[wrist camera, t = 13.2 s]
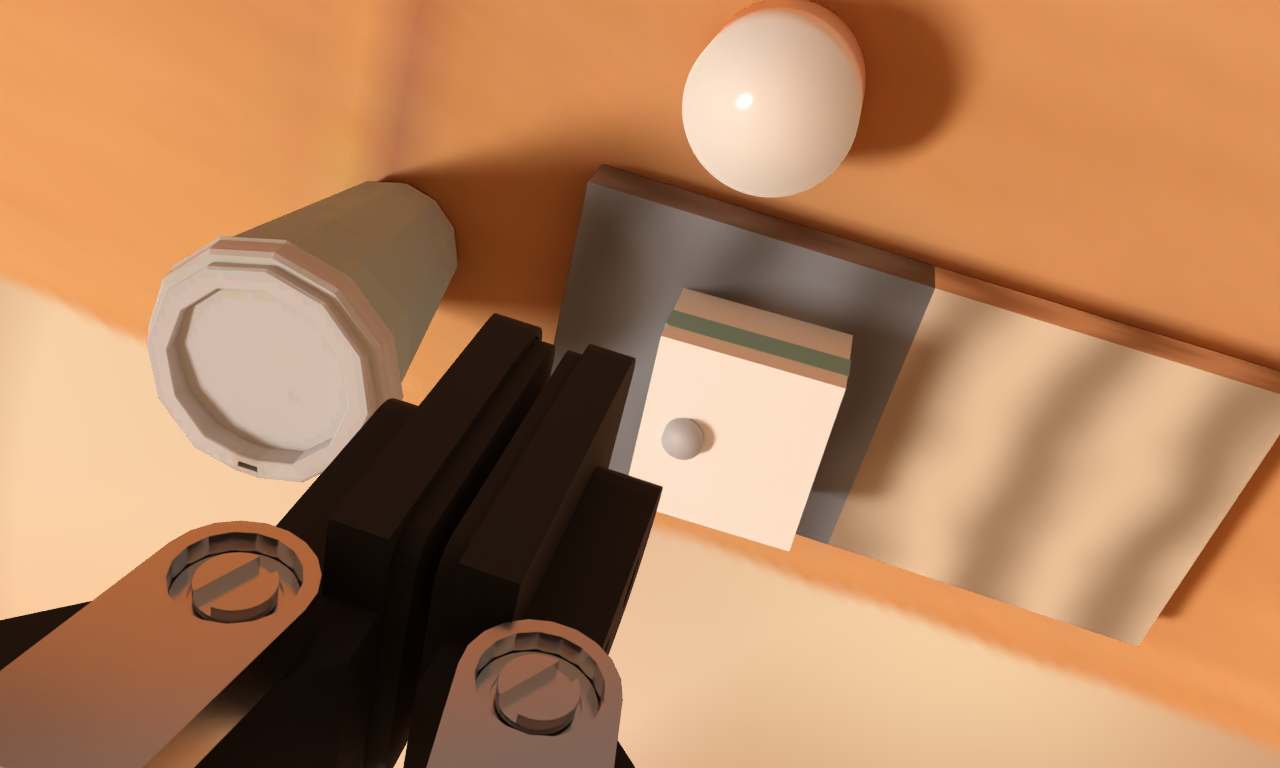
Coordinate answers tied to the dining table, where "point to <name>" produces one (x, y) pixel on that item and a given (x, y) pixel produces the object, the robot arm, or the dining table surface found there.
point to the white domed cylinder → (775, 98)
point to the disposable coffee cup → (300, 327)
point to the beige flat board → (950, 406)
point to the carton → (739, 416)
